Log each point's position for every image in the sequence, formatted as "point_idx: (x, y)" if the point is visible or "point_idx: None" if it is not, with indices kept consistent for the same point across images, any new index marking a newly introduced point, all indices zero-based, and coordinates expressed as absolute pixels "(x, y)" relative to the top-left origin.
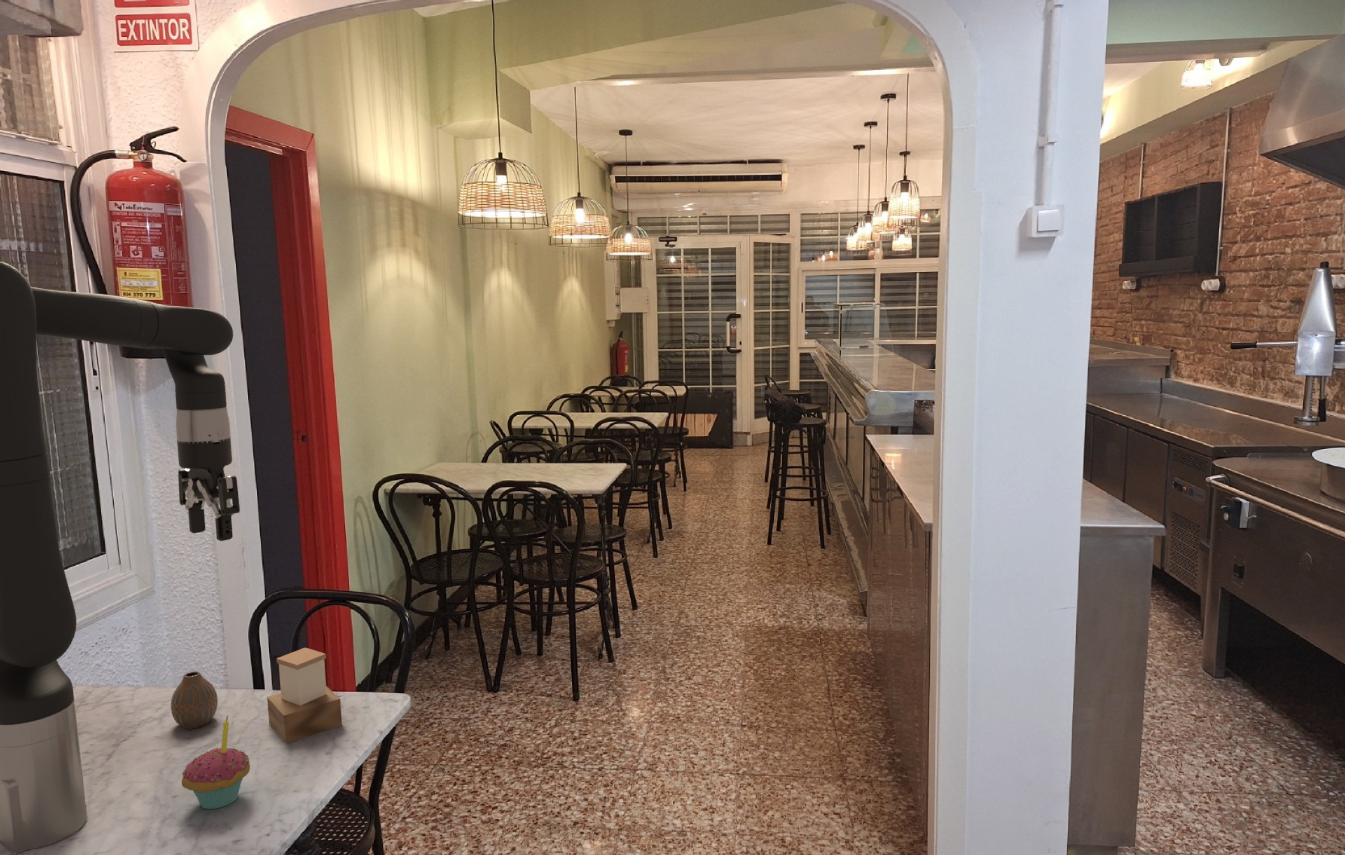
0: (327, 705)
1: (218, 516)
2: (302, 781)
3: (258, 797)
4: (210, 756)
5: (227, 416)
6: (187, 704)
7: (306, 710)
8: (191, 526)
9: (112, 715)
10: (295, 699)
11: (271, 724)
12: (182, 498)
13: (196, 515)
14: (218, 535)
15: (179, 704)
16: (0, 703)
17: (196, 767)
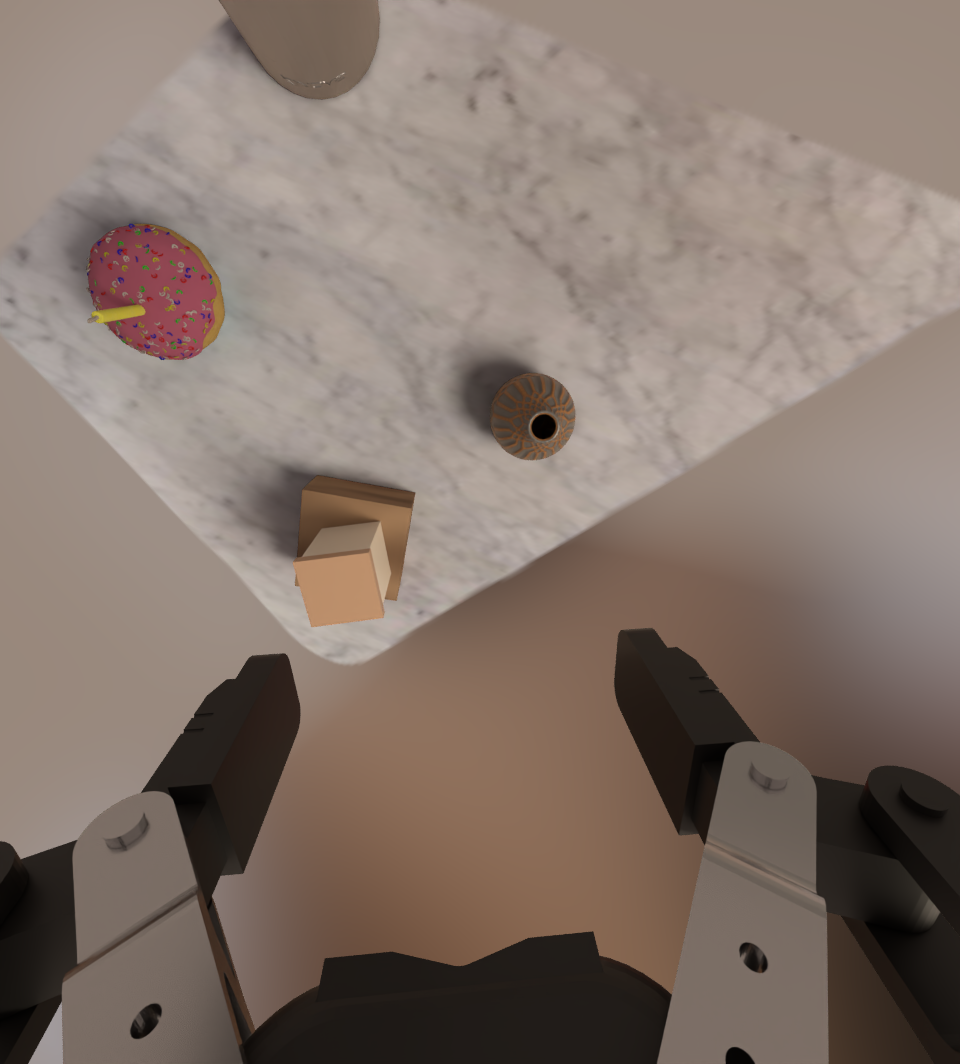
0: None
1: (108, 812)
2: (158, 426)
3: None
4: (134, 280)
5: None
6: (503, 392)
7: (300, 527)
8: (636, 653)
9: (700, 322)
10: (333, 530)
11: (400, 491)
12: (929, 848)
13: (668, 748)
14: (238, 674)
15: (517, 381)
16: None
17: (120, 242)
